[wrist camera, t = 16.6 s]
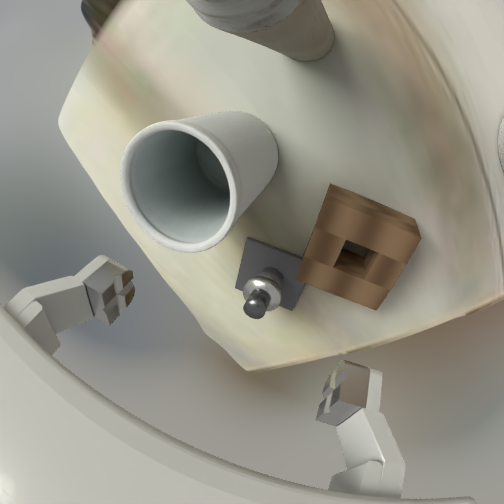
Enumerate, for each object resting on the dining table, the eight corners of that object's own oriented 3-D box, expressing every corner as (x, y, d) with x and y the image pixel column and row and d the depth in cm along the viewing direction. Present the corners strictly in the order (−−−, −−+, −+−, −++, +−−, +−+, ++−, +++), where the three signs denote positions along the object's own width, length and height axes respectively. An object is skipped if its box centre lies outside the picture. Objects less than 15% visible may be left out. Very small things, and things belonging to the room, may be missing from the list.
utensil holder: (186, 112, 41) (107, 135, 27) (278, 101, 36) (225, 111, 22) (201, 195, 48) (137, 248, 35) (286, 197, 43) (245, 259, 30)
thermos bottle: (265, 26, 30) (118, -34, 8) (314, 2, 26) (229, -114, 4) (294, 70, 33) (174, 46, 11) (345, 47, 28) (319, -40, 6)
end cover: (293, 271, 49) (278, 306, 42) (282, 296, 53) (267, 330, 46) (258, 256, 50) (238, 288, 43) (250, 282, 54) (231, 314, 47)
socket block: (414, 219, 38) (421, 238, 33) (376, 286, 46) (376, 310, 41) (330, 183, 40) (325, 198, 35) (302, 257, 48) (294, 279, 43)
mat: (313, 262, 48) (312, 264, 47) (292, 308, 55) (292, 310, 55) (247, 237, 50) (246, 238, 49) (236, 286, 57) (235, 287, 56)
